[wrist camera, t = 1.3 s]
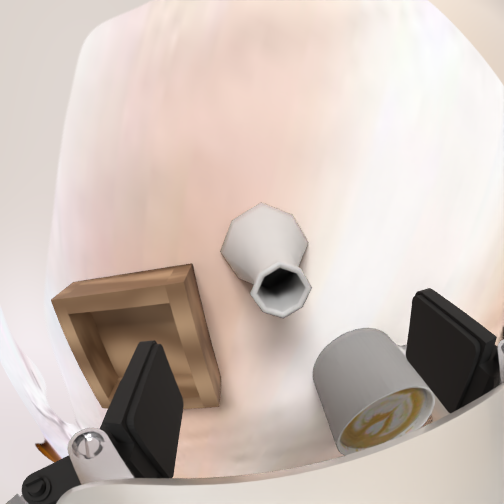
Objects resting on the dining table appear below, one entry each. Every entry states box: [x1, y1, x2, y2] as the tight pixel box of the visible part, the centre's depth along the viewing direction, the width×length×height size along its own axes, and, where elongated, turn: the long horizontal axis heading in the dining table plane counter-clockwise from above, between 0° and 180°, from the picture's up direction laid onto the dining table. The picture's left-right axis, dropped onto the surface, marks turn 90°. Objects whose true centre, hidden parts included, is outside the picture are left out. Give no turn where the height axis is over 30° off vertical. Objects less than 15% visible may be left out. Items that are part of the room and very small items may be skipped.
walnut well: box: [51, 264, 221, 409], centre depth 25 cm, size 13×13×4 cm
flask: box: [220, 202, 312, 318], centre depth 20 cm, size 7×7×10 cm
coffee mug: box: [313, 328, 435, 455], centre depth 25 cm, size 13×10×10 cm
